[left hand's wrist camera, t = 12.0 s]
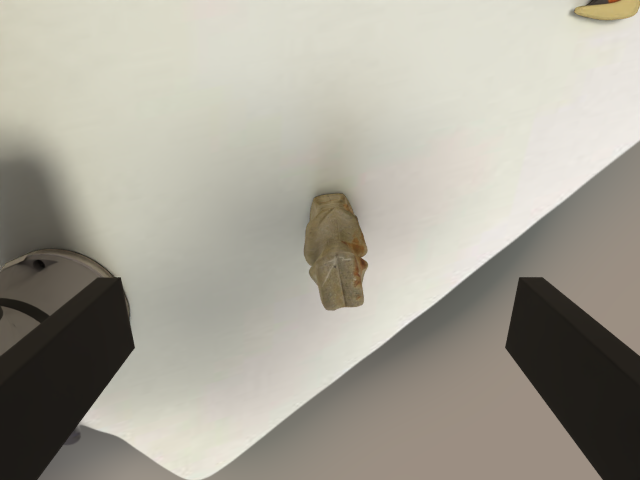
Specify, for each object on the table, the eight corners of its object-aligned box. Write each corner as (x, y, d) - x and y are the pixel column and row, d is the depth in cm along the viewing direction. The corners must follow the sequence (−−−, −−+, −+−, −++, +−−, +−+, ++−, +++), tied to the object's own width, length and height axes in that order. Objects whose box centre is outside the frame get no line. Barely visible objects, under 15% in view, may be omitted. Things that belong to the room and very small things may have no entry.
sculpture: (310, 250, 45) (305, 320, 31) (303, 190, 43) (295, 236, 29) (359, 246, 45) (377, 314, 31) (356, 185, 42) (373, 229, 28)
